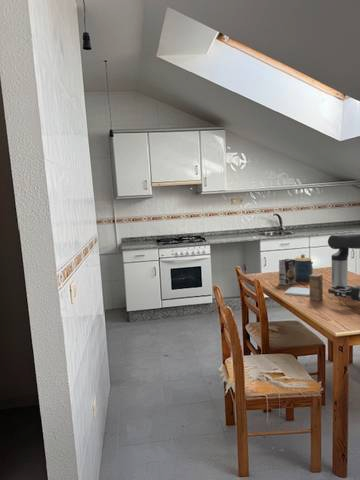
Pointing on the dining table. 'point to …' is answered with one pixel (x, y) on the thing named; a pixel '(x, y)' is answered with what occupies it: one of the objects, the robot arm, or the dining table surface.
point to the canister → (303, 268)
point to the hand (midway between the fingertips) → (332, 289)
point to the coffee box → (287, 271)
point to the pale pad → (298, 291)
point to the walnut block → (316, 287)
